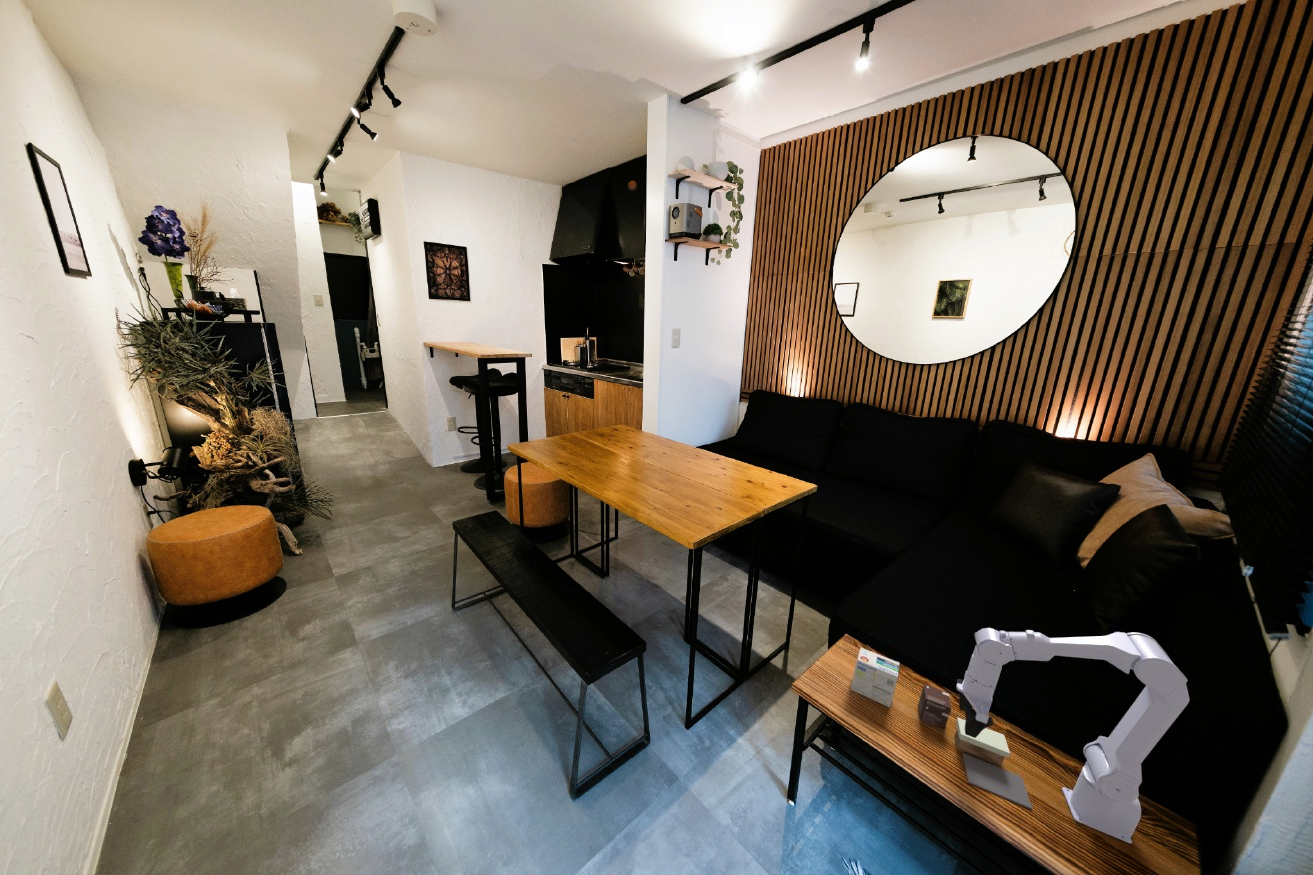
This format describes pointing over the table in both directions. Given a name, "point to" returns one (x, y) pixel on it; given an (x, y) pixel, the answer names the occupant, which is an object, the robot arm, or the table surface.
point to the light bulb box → (875, 676)
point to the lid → (985, 739)
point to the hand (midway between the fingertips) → (967, 722)
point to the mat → (996, 780)
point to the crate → (978, 752)
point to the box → (934, 706)
